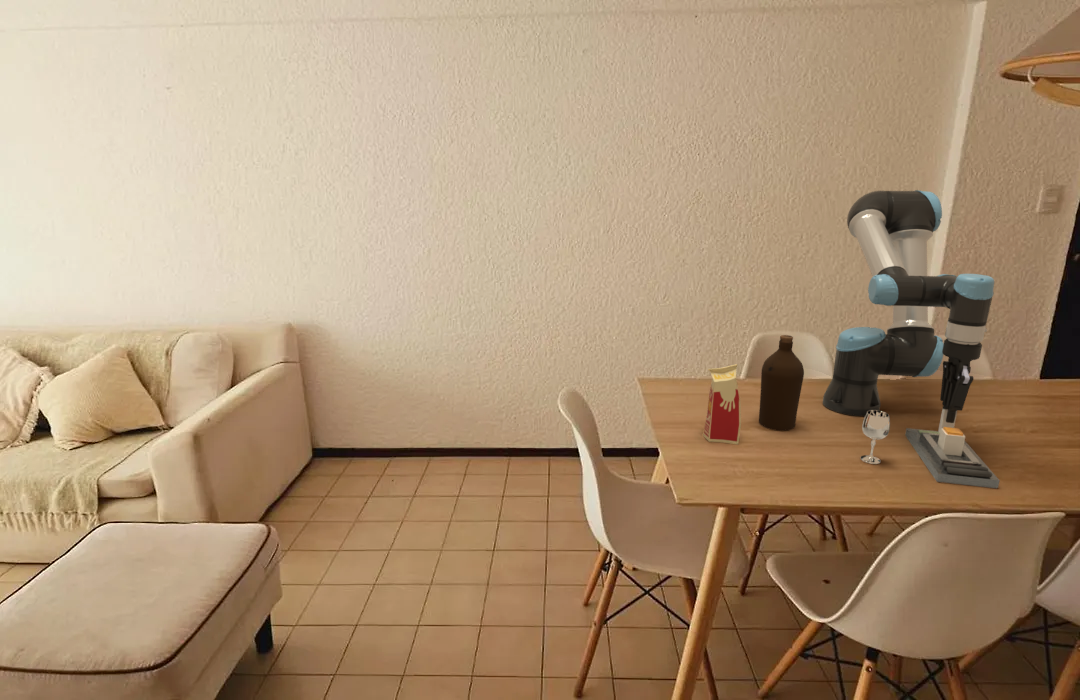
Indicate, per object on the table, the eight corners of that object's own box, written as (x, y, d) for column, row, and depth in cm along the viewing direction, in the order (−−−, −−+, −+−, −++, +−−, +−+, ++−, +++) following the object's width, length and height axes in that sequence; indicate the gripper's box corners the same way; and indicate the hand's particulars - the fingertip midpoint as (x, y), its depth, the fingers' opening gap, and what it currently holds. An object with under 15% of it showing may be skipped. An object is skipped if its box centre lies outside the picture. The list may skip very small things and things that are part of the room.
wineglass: (855, 461, 151) (863, 415, 148) (858, 452, 156) (865, 407, 153) (882, 467, 148) (891, 420, 145) (884, 458, 153) (892, 412, 150)
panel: (936, 481, 142) (939, 468, 141) (905, 435, 166) (907, 423, 165) (997, 488, 139) (1000, 475, 138) (956, 440, 163) (958, 428, 162)
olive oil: (794, 435, 166) (805, 344, 159) (752, 427, 171) (761, 338, 164) (799, 421, 175) (810, 334, 168) (760, 413, 180) (769, 329, 173)
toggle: (942, 454, 150) (946, 432, 149) (937, 447, 154) (941, 426, 153) (961, 456, 149) (965, 434, 148) (955, 448, 153) (959, 427, 152)
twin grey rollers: (948, 474, 141) (949, 468, 141) (942, 467, 144) (943, 461, 144) (992, 479, 139) (993, 473, 138) (986, 471, 142) (987, 466, 142)
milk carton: (736, 430, 169) (743, 359, 163) (740, 444, 160) (747, 370, 155) (701, 427, 171) (707, 357, 165) (703, 441, 162) (709, 368, 156)
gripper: (992, 349, 141) (972, 445, 148) (971, 334, 153) (953, 424, 160) (955, 346, 143) (936, 441, 150) (936, 332, 155) (920, 421, 162)
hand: (945, 432), depth 155 cm, fingers closed
